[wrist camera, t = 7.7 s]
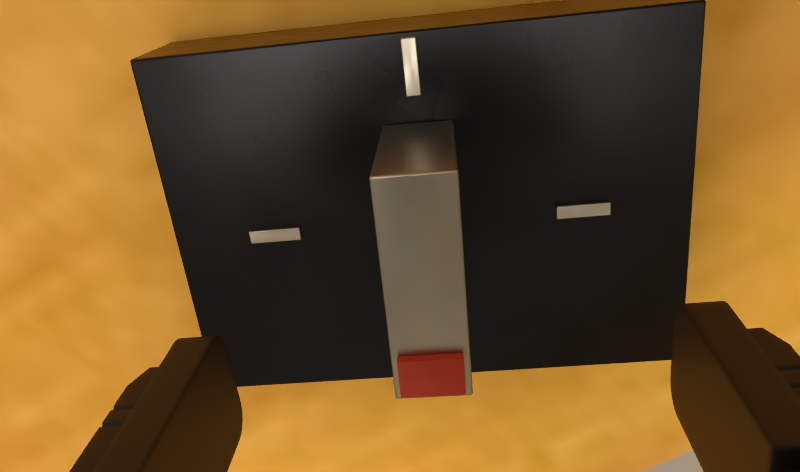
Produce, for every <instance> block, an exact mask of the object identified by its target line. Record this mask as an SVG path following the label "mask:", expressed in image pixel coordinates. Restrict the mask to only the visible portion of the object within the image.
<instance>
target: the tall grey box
mask: <svg viewBox="0 0 800 472" xmlns="http://www.w3.org/2000/svg"><path fill="white" fill-rule="evenodd" d="M369 180H370V188H371V196H372V204H373V213H374V221H375V229H376V238H377V246H378V254H379V263H380V271H381V279H382V288H383V296H384V304H385V313H386V321H387V329H388V338H389V346H390V354H391V363H392V371H393V379H394V388H395V396H396V398H416V397H436V396H456V395H471V394H472V393H473V389H472V374H471V358H470V343H469V327H468V312H467V297H466V281H465V266H464V251H463V235H462V220H461V204H460V189H459V174H458V163H457V153H456V143H455V133H454V123H453V121H452V120H447V121H435V122H423V123H410V124H398V125H386V126H383V128H382V132H381V136H380V140H379V143H378V147H377V151H376V155H375V159H374V162H373V166H372V170H371V174H370V178H369Z"/></svg>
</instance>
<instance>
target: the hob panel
mask: <svg viewBox="0 0 800 472" xmlns="http://www.w3.org/2000/svg"><path fill="white" fill-rule="evenodd" d="M705 5H706V1H705V0H565V1H555V2H546V3H537V4H527V5H518V6H508V7H499V8H490V9H480V10H471V11H461V12H452V13H443V14H433V15H424V16H414V17H405V18H396V19H386V20H377V21H367V22H358V23H349V24H339V25H330V26H320V27H311V28H302V29H292V30H283V31H273V32H264V33H255V34H245V35H236V36H226V37H217V38H208V39H198V40H189V41H180V42H172V43H169V44H167V45H165V46H162V47H160V48H158V49H155V50H153V51H151V52H148V53H146V54H144V55H141V56H139V57H137V58H134V59H132V60H131V66H132V70H133V73H134V77H135V81H136V85H137V89H138V93H139V96H140V100H141V104H142V108H143V112H144V116H145V120H146V123H147V127H148V131H149V135H150V139H151V143H152V146H153V150H154V154H155V158H156V162H157V166H158V170H159V173H160V177H161V181H162V185H163V189H164V193H165V196H166V200H167V204H168V208H169V212H170V216H171V220H172V223H173V227H174V231H175V235H176V239H177V243H178V246H179V250H180V254H181V258H182V262H183V266H184V270H185V273H186V277H187V281H188V285H189V289H190V293H191V296H192V300H193V304H194V308H195V312H196V316H197V319H198V323H199V327H200V331H201V335H202V337H208V336H220V337H221V338H222V339H223V341H224V343H225V345H226V348H227V352H228V356H229V360H230V364H231V367H232V371H233V375H234V379H235V383H236V387H240V386H256V385H272V384H289V383H305V382H321V381H337V380H353V379H369V378H385V377H393V371H392V363H391V354H390V346H389V338H388V329H387V321H386V313H385V304H384V296H383V288H382V279H381V271H380V263H379V254H378V246H377V238H376V229H375V221H374V213H373V204H372V196H371V188H370V180H369V178H370V174H371V170H372V166H373V162H374V159H375V155H376V151H377V147H378V143H379V140H380V136H381V132H382V128H383V126H386V125H398V124H410V123H423V122H435V121H447V120H452V121H453V123H454V133H455V143H456V153H457V163H458V174H459V189H460V204H461V220H462V235H463V251H464V266H465V281H466V297H467V312H468V327H469V343H470V358H471V372H482V371H498V370H515V369H531V368H547V367H563V366H579V365H595V364H611V363H628V362H644V361H660V360H672V344H673V326H674V313H675V309H676V307H677V305H678V304H685V299H686V284H687V269H688V255H689V240H690V225H691V211H692V196H693V181H694V167H695V152H696V137H697V123H698V108H699V93H700V79H701V64H702V49H703V35H704V20H705Z"/></svg>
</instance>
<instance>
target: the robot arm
mask: <svg viewBox="0 0 800 472" xmlns="http://www.w3.org/2000/svg"><path fill="white" fill-rule="evenodd" d="M671 393H672V399H673V404H674V408H675V411H676V414H677V417H678V419H679V421H680V423H681V425H682V427H683V429H684V431H685V433H686V436H687V438H688V440H689V442H690V444H691V446H692V448H693V450H694V452H695V454H696V456H697V459H698V461H699V463H700V465H701V467H702V469H703V471H704V472H800V356H799V355H798V354H797V353H796V352H795V350H794V349H793V348H792V347H791V346H790V344H788V343H786V342H785V341H783V340H781V339H780V338H778V337H776V336H775V335H773V334H771V333H770V332H768V331H766V330H765V329H763V328H753V329H747V328H746V327H745V326H744V324H743V323H742V322H741V320H740V319H739V318H738V316H737V315H736V314H735V312H734V311H733V310H732V308H731V307H730V306H729V305H728V303H726V302H725V301H717V302H702V303H688V304H678V305H677V307H676V309H675V313H674V326H673V344H672V362H671ZM241 431H242V407H241V402H240V398H239V394H238V391H237V387H236V383H235V379H234V375H233V371H232V367H231V364H230V360H229V356H228V352H227V348H226V345H225V343H224V341H223V339H222V338H221V337H220V336H208V337H194V338H180V339H177V340H176V341H175V342H174V344H173V345H172V347H171V349H170V350H169V352H168V353H167V355H166V357H165V358H164V360H163V361H162V363H161V364H160V366H159V367H153V368H149V369H148V370H147V371H145V372H144V373H143V374H142V375H140V376H139V377H138V378H137V379H135V380H134V381H133V382H132V383H130V384H129V385H128V386H127V387H126V389H125V390H124V392H123V393H122V394H121V396H120V397H119V399H118V400H117V402H116V403H115V405H114V410H111V411H110V412H109V414H108V415H107V417H106V418H105V420H104V421H103V423H102V427H99V429H98V430H97V432H96V433H95V435H94V436H93V437H92V439H91V440H90V442H89V443H88V445H87V446H86V448H85V449H84V451H83V452H82V454H81V455H80V457H79V458H78V460H77V461H76V463H75V464H74V466H73V467H72V469H71V470H70V472H227V471H228V468H229V466H230V463H231V460H232V458H233V455H234V453H235V450H236V448H237V445H238V442H239V440H240V436H241Z"/></svg>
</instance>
